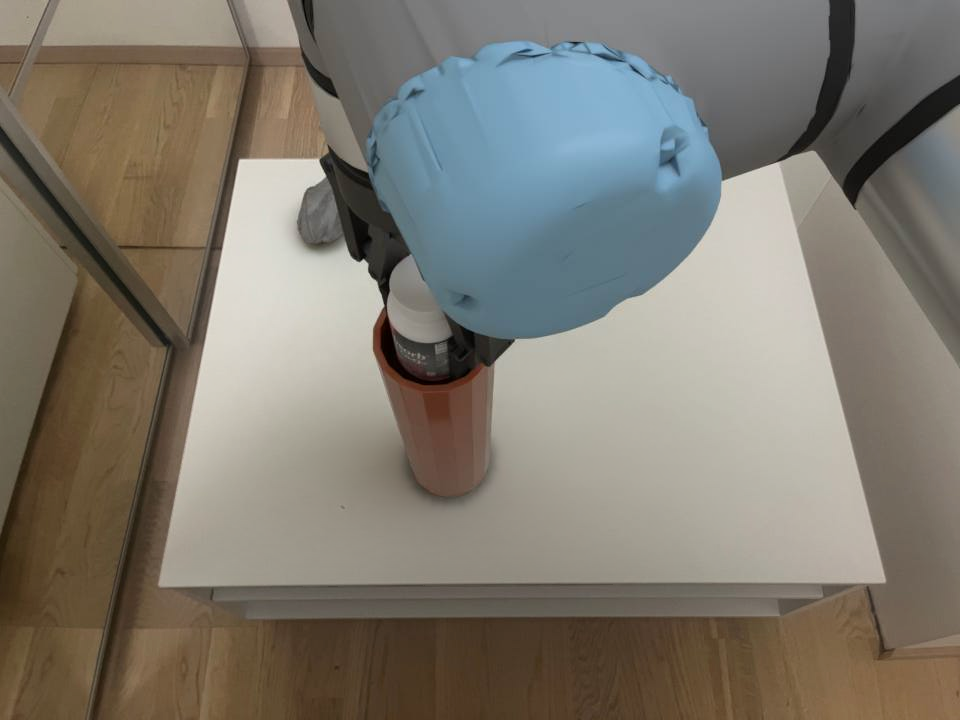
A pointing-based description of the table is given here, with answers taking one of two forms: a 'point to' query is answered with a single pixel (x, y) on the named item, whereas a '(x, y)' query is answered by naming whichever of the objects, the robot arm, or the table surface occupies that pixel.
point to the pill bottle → (417, 324)
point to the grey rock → (319, 214)
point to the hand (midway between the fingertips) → (435, 346)
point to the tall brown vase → (438, 419)
